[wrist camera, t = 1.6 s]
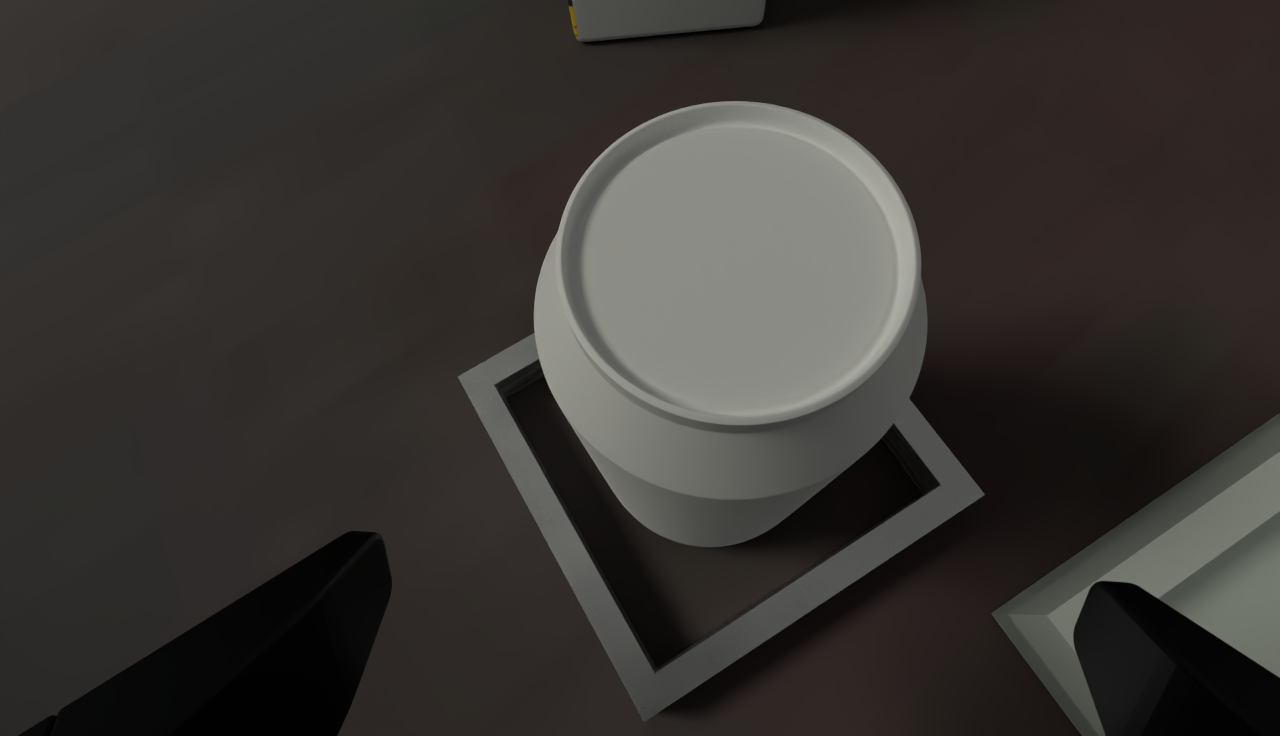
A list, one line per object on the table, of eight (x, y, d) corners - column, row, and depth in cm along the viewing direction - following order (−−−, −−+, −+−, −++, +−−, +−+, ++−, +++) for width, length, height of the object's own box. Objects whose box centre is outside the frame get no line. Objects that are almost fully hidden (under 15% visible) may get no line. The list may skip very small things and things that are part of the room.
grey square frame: (963, 502, 19) (985, 494, 18) (647, 712, 18) (644, 722, 17) (752, 230, 23) (757, 205, 21) (472, 391, 21) (457, 376, 20)
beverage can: (854, 460, 20) (1079, 274, 9) (691, 597, 19) (705, 589, 8) (718, 311, 22) (756, -3, 10) (562, 429, 21) (420, 222, 9)
